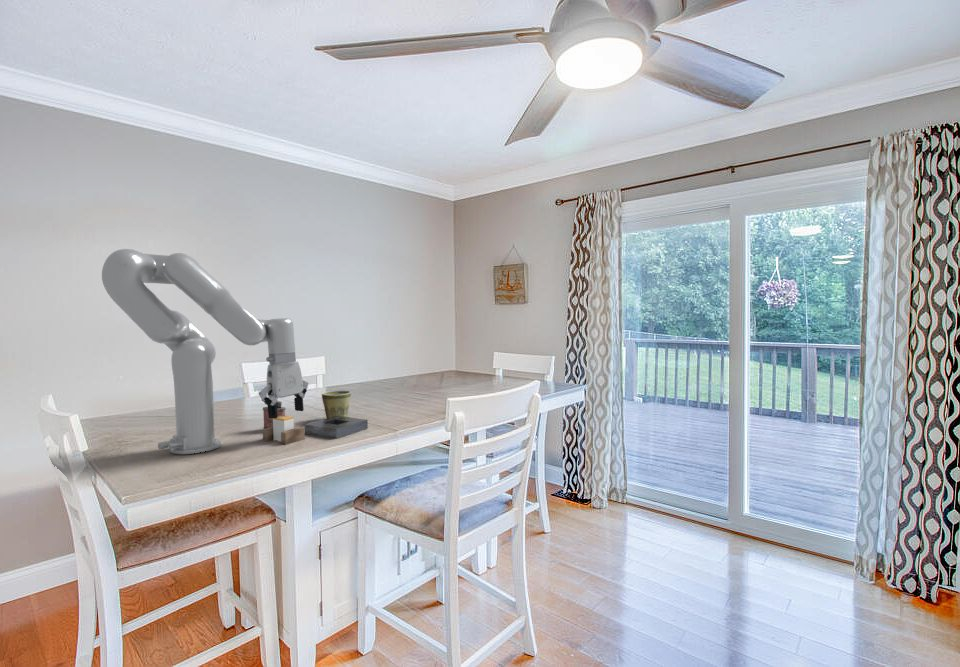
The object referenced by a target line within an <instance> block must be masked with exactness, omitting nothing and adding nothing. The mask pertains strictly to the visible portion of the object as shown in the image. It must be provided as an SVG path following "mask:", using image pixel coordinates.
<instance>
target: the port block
mask: <svg viewBox="0 0 960 667" xmlns="http://www.w3.org/2000/svg"><path fill="white" fill-rule="evenodd" d="M368 421H369V420H368V419H363V418H357V417H349V416H347V417H343V416H334V417H330V418H324V419H323V418H322V419H320V420H319V419H318V420H315V421H312V422H309V423H308V422H307V423H304V427H303V428H304V431H305V434H306V435H310V436H317V437H324V438H330V439H335V438H336V440H337V439H340V437H341V438H343V436H344V437H346V436H350V435H353V434H355V433H359V432H361V431H364V430H368V428H369V426H368Z"/></svg>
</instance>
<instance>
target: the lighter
mask: <svg viewBox="0 0 960 667" xmlns="http://www.w3.org/2000/svg"><path fill="white" fill-rule="evenodd" d="M275 405H277V415H278V416H282V415H283V416H286V407H284V406H283V402H282V401H279V399H277V401H276V403H275ZM262 412H263V429H265V428H269V427H273V418H269V415H268V406H263V407H262ZM263 429H262V430H263Z"/></svg>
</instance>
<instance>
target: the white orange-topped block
mask: <svg viewBox="0 0 960 667" xmlns="http://www.w3.org/2000/svg"><path fill="white" fill-rule="evenodd" d="M294 428H295V421H294V416H290V415H285V416H283V415H282V416H278V417H277V418H273V436H274V439H273V441H275V440H278V441H277V442H281V432H283V431H287V430H291V429H294Z"/></svg>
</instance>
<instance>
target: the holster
mask: <svg viewBox="0 0 960 667" xmlns="http://www.w3.org/2000/svg"><path fill="white" fill-rule="evenodd" d="M263 440H264V441H265V442H270V441H272V440H273V441H274V436H273V427H269V428H265V429H262V441H263ZM269 440H270V441H269ZM302 440H305V427H303V426H298V427H294V429H291V430H287V431H283V432H281V441H280V444H281V443H282V444H281V445H285V444H286V445H289V443H290V444H292V443H295V442H299V441H302Z"/></svg>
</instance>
